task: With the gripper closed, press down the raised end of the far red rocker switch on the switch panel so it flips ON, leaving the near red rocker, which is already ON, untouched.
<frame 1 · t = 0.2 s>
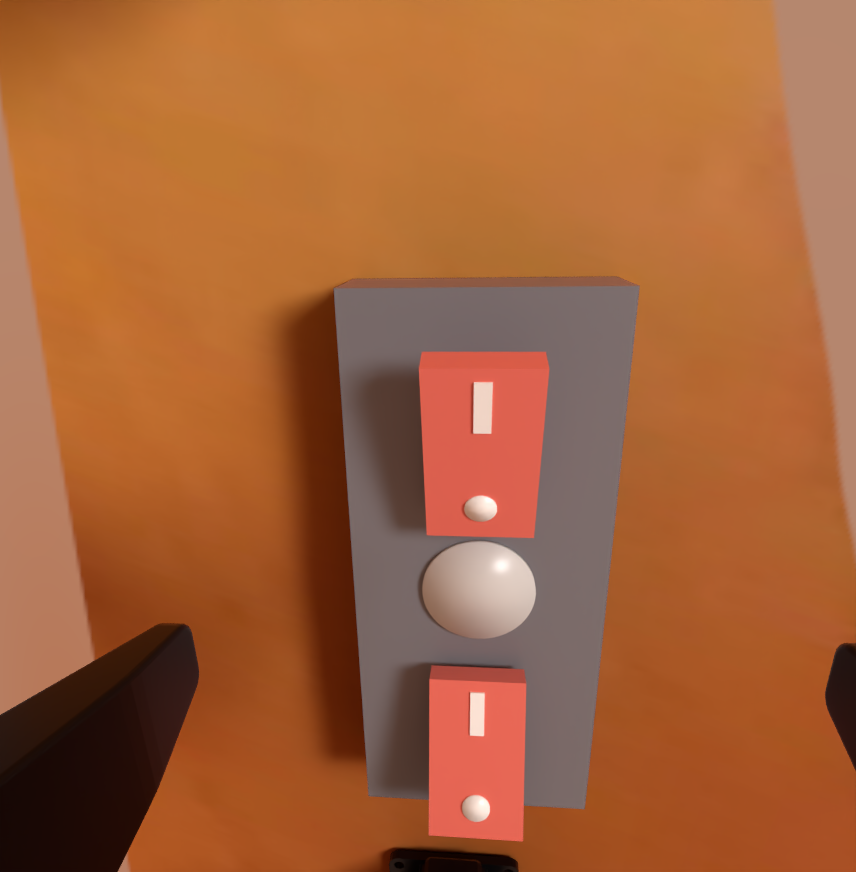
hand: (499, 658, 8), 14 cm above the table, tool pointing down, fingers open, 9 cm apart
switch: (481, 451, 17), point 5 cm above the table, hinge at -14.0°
switch panel: (478, 545, 24), on the table
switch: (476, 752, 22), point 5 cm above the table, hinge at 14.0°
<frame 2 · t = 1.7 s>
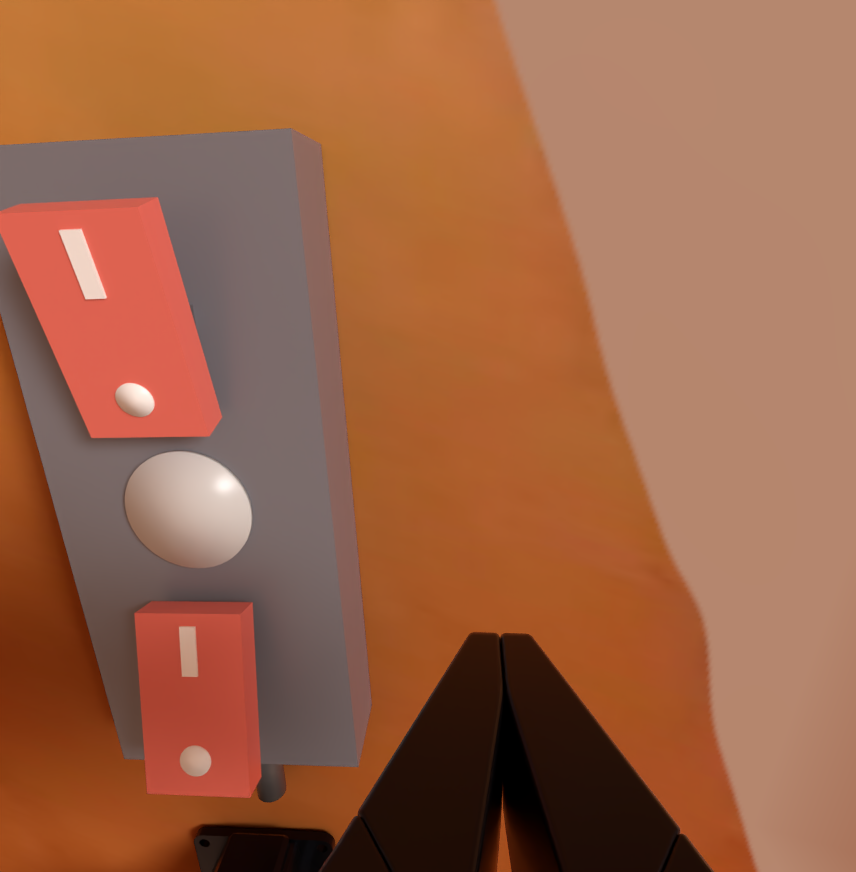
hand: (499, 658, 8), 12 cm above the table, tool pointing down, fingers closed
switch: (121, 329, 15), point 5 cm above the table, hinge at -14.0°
switch panel: (227, 472, 21), on the table
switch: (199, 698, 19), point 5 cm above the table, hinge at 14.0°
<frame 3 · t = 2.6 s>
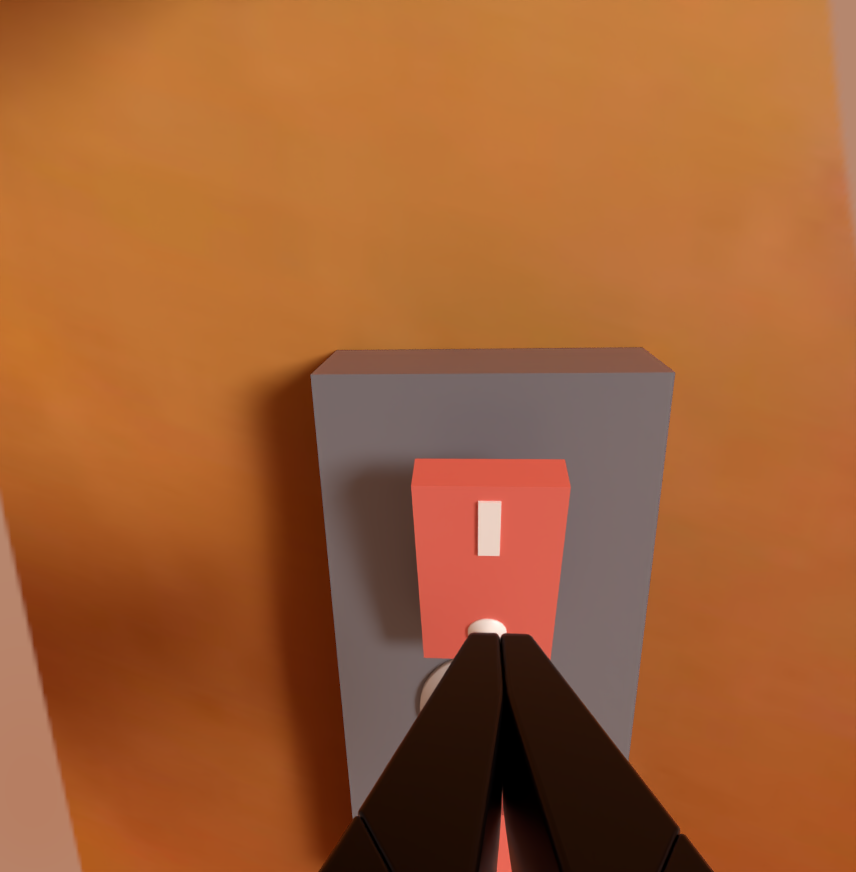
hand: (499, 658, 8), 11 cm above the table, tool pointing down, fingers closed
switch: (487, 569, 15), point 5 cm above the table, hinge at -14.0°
switch panel: (483, 640, 21), on the table
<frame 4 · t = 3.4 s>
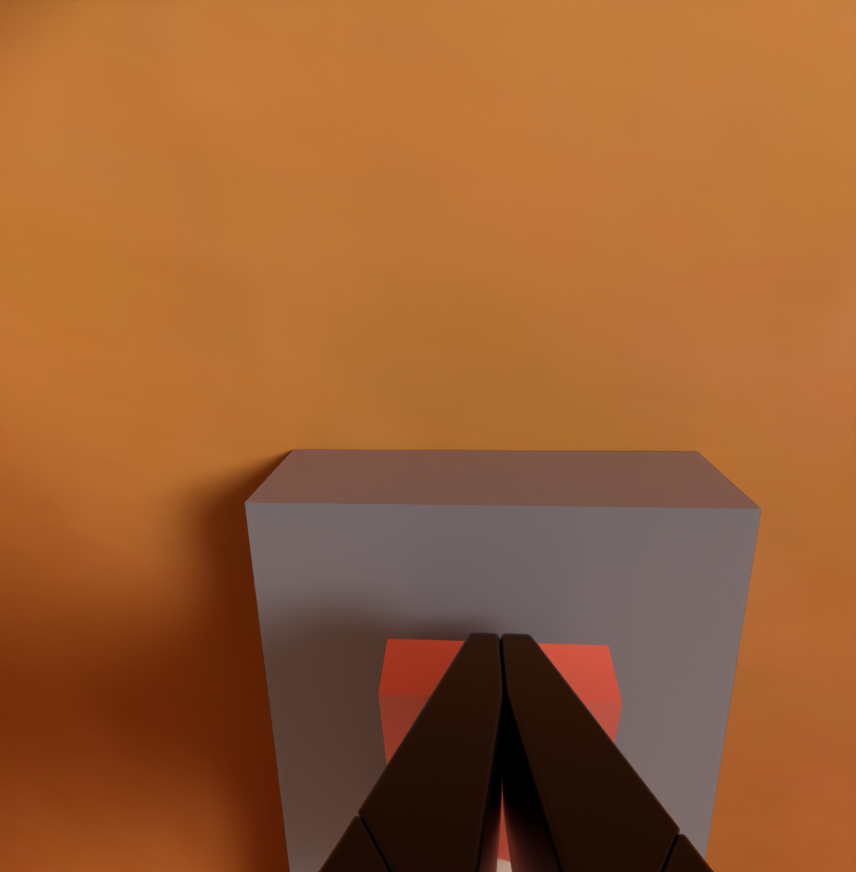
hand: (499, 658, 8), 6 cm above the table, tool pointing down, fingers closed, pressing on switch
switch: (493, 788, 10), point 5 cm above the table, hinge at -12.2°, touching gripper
switch panel: (486, 810, 16), on the table
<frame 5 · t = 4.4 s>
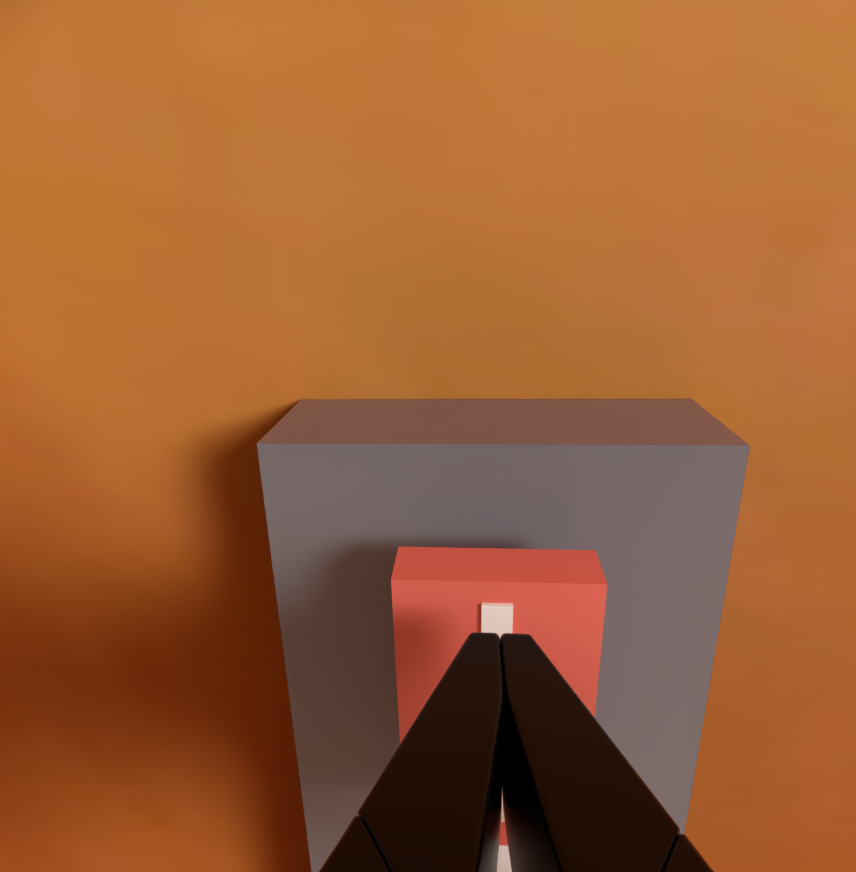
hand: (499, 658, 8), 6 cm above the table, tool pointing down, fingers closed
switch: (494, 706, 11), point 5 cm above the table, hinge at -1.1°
switch panel: (486, 747, 17), on the table
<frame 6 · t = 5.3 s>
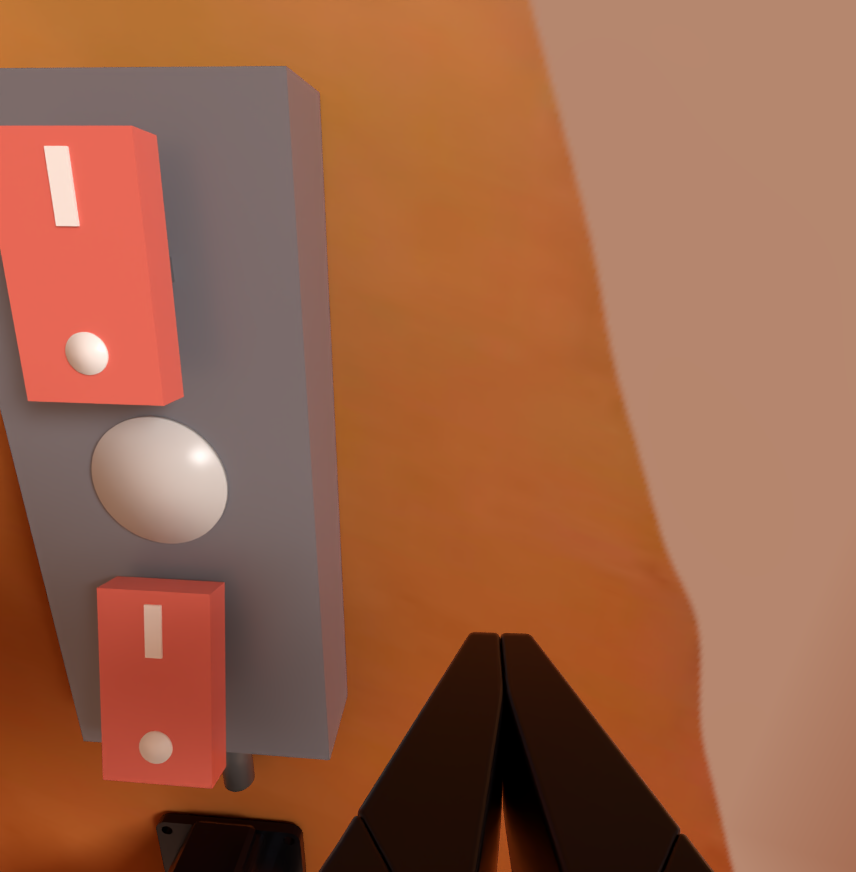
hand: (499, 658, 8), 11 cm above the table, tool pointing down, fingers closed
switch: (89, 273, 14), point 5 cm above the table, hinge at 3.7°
switch panel: (206, 444, 20), on the table
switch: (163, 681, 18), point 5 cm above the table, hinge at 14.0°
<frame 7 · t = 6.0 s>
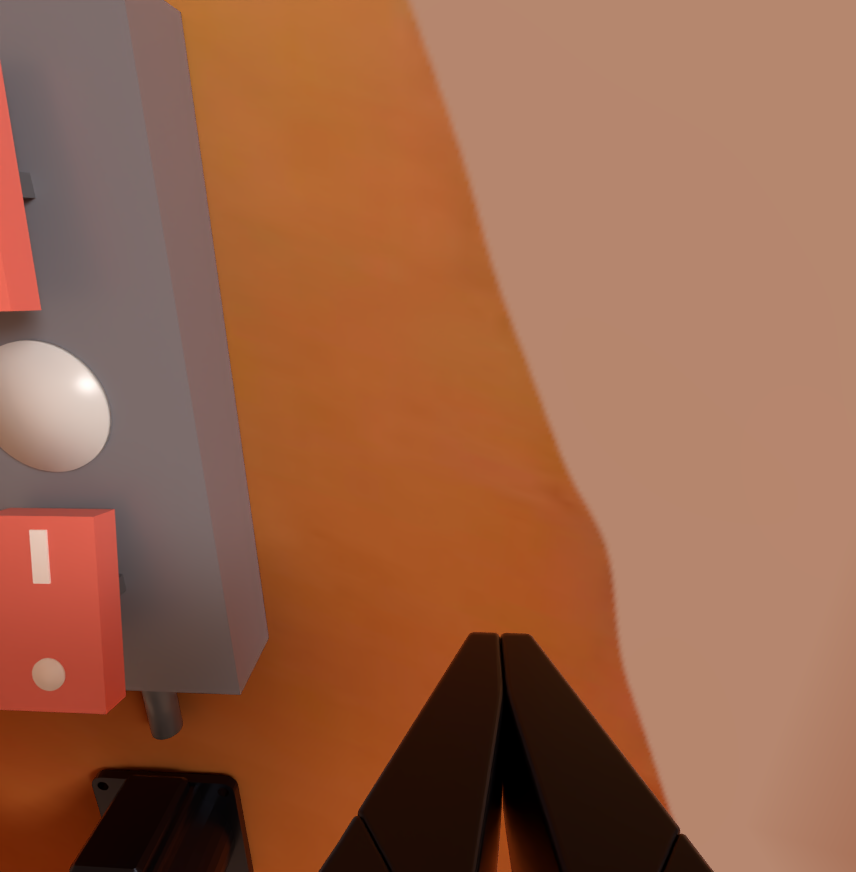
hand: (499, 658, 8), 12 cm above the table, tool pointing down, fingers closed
switch panel: (105, 381, 20), on the table
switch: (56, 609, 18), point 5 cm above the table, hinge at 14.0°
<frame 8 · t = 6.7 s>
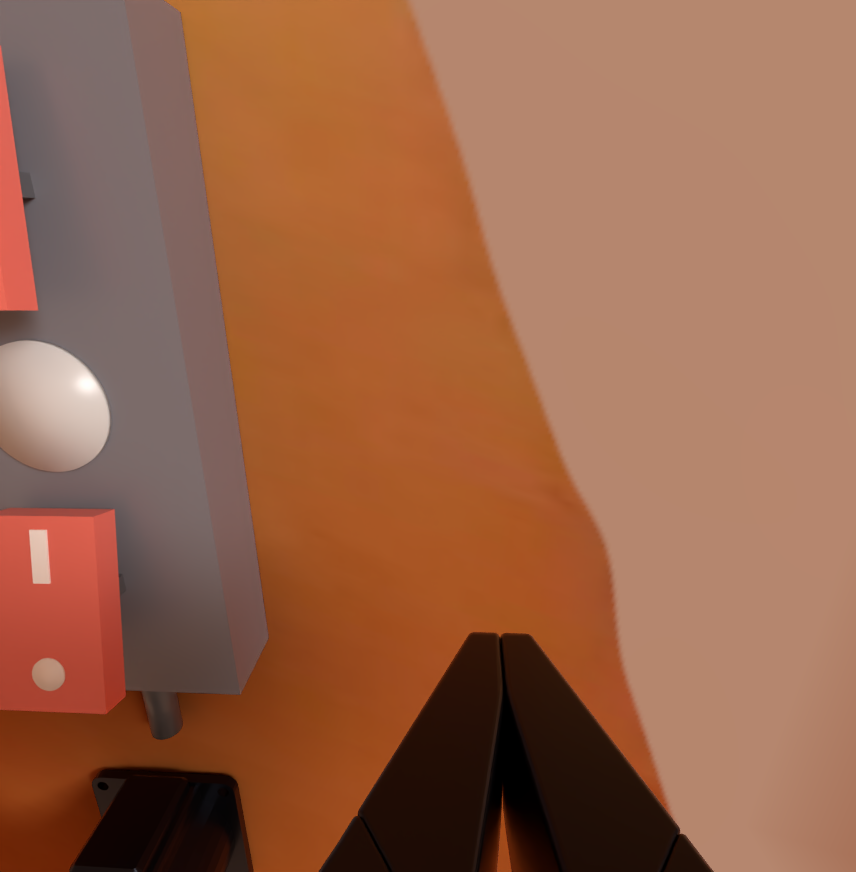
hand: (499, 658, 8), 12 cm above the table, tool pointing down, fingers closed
switch panel: (105, 381, 20), on the table
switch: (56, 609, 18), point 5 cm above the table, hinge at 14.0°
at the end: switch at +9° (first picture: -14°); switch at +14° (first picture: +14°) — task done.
